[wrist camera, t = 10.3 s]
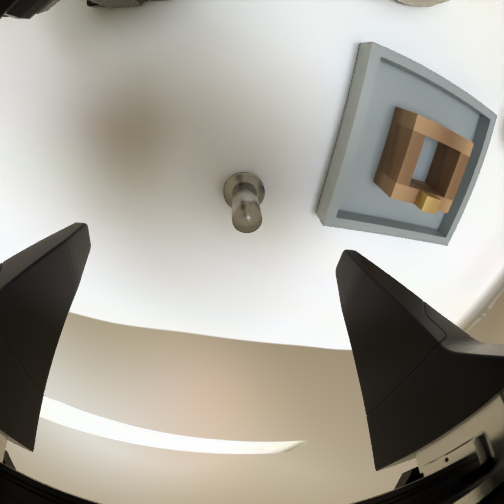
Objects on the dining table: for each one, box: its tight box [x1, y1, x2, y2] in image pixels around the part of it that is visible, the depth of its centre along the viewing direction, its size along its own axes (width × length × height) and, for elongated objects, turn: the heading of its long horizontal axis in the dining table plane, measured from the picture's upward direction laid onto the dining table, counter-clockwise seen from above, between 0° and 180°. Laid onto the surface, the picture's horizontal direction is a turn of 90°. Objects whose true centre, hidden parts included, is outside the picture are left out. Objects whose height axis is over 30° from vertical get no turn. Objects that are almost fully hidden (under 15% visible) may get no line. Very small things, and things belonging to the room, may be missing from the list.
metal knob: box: [224, 172, 265, 233], centre depth 19 cm, size 3×3×4 cm
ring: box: [373, 107, 474, 214], centre depth 18 cm, size 6×6×4 cm
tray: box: [316, 42, 497, 246], centre depth 19 cm, size 14×14×2 cm
